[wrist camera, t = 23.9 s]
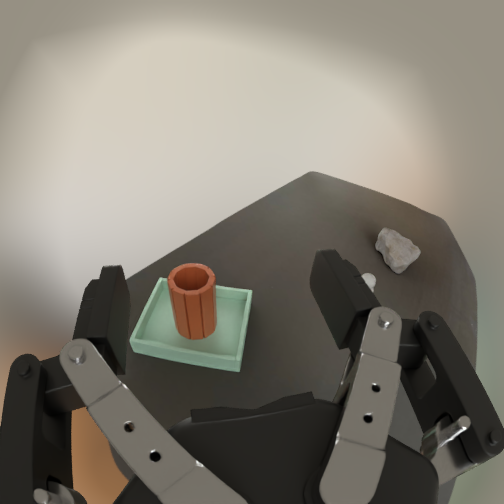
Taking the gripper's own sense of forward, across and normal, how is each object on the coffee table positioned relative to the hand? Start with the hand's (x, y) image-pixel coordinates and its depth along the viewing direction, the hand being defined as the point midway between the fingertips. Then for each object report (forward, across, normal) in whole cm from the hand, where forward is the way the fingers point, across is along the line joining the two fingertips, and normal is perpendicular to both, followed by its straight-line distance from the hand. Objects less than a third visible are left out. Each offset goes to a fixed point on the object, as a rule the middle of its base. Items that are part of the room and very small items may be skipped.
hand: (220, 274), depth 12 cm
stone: (+30, -40, +28) cm, 57 cm away
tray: (+20, +2, +27) cm, 34 cm away
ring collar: (+20, +2, +27) cm, 33 cm away
